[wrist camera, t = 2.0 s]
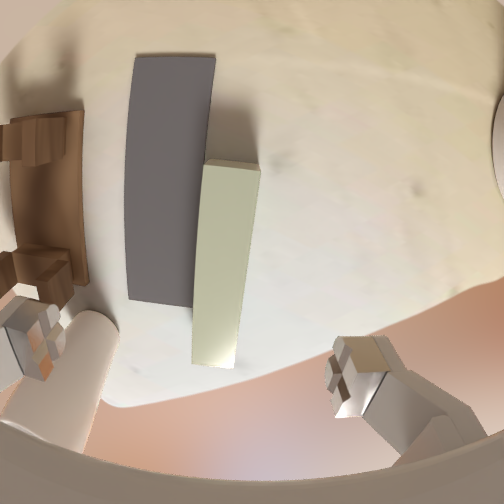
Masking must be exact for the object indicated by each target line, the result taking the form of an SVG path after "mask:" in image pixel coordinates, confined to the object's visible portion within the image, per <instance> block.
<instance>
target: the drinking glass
mask: <svg viewBox="0 0 504 504" xmlns="http://www.w3.org/2000/svg"><path fill="white" fill-rule="evenodd" d="M64 332H65V340H66V343H65V347H64V352H63V353H62V355H61V357H60V358H58V359H56V360H55V361H53V365H54V368H53V370H52V371H51V373H50V375H49V376H48V378H47V380H46V381H45V382H44V381H40V380H37V379H34V378H31V377H28V376H24V377H23V379H22V380H21V381H20V383H19V384H18V385H17V387H16V388H15V390H14V391H13V393H12V394H11V396H10V398H9V399H8V401H7V403H6V405H5V407H4V408H3V411H2V413H1V415H0V421H2V422H4V423H6V424H8V425H10V426H12V427H14V428H16V429H18V430H21V431H23V432H25V433H27V434H30V435H32V436H34V437H37V438H39V439H42V440H44V441H47V442H49V443H52V444H55V445H57V446H60V447H63V448H66V449H69V450H72V451H75V452H78V453H81V454H83V451H84V449H85V446H86V443H87V440H88V438H89V435H90V432H91V429H92V425H93V422H94V418H95V415H96V411H97V408H98V405H99V401H100V398H101V394H102V391H103V388H104V385H105V382H106V378H107V375H108V372H109V369H110V366H111V364H112V361H113V358H114V355H115V353H116V351H117V349H118V347H119V343H120V336H119V332H118V330H117V328H116V326H115V325H114V324H113V322H112V321H111V320H110V319H109V318H107V317H106V316H105V315H103V314H101V313H99V312H96V311H91V310H87V311H82V312H80V313H78V314H77V315H76V316H75V317H74V318H73V320H72V321H71V322H70V324H69V325H68V326H67V328H66V329H65V330H64Z"/></svg>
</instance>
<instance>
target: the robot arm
mask: <svg viewBox="0 0 504 504" xmlns="http://www.w3.org/2000/svg"><path fill="white" fill-rule="evenodd" d="M493 162H494V169H495V175H496V179H497V183H498V186H499V189H500V192H501V194H502V196H503V199H504V95H503V97H502V99H501V101H500V103H499V106H498V109H497V112H496V116H495V121H494V128H493ZM60 317H61V316H60V312H59V308H58V307H57V306H56V305H55V304H52V303H48V302H44V301H40V300H36V299H32V298H27V297H23V296H15V297H14V298H13V299H12V300H11V301H10V302H9V303H8V304H7V305H6V306H5V307H4V308H3V309H2V310H1V311H0V393H1V392H2V391H3V390H5V389H6V388H8V387H9V386H11V385H12V384H13V383H15V382H17V381H18V380H19V379H21V378H22V377H24V376H23V375H25V376H28V377H31V378H34V379H37V380H40V381H44V382H45V381H46V380H47V378H48V376H49V375H50V373H51V371H52V370H53V368H54V365H53V361H55V360H56V359H58V358H60V357H61V355H62V353H63V352H64V347H65V343H66V340H65V332H64V328H63V327H62V326H61V325H60V323H59V322H58V321H59V319H60ZM333 350H334V353H335V354H334V355H332V356H331V357H330V358H329V359H328V361H327V364H326V369H325V383H326V387H327V389H328V390H329V391H330V392H331V393H332V394H333V396H332V398H331V404H332V408H333V411H334V414H335V418H341V417H358V416H363V417H362V418H363V419H364V420H365V421H366V422H367V423H368V424H369V425H371V427H372V428H373V429H374V430H375V431H377V432H378V433H379V434H380V435H381V436H382V437H383V438H384V439H385V440H386V441H387V442H388V443H389V444H390V445H391V446H392V447H393V448H394V449H395V450H396V451H397V452H398V453H399V454H401V455H402V456H401V457H400V458H399V459H398V460H397V461H396V462H395V463H394V464H393V466H392V467H389V468H385V469H380V470H375V471H369V472H364V473H358V474H351V475H344V476H336V477H327V478H317V479H304V480H287V481H239V480H220V479H208V478H197V477H188V476H181V475H173V474H167V473H160V472H155V471H149V470H144V469H139V468H134V467H130V466H125V465H120V464H117V463H113V462H109V461H105V460H101V459H98V458H94V457H90V456H87V455H84V454H81V453H78V452H75V451H72V450H69V449H66V448H63V447H60V446H57V445H55V444H52V443H49V442H47V441H44V440H42V439H39V438H37V437H34V436H32V435H30V434H27V433H25V432H23V431H21V430H18V429H16V428H14V427H12V426H10V425H8V424H6V423H4V422H2V421H0V504H504V430H502V431H499V432H497V433H495V434H493V435H490V436H487V434H486V432H485V431H484V429H483V427H482V425H481V424H480V422H479V420H478V419H477V417H476V415H475V414H474V412H473V410H472V409H471V407H470V406H468V405H466V404H465V403H463V402H461V401H460V400H458V399H457V398H455V397H453V396H452V395H450V394H449V393H447V392H445V391H444V390H442V389H441V388H439V387H437V386H436V385H434V384H433V383H431V382H430V381H428V380H426V379H425V378H423V377H422V376H420V375H419V374H417V373H415V372H413V371H412V370H407V369H406V368H405V365H404V364H403V362H402V361H401V359H400V357H399V356H398V354H397V352H396V350H395V349H394V347H393V345H392V344H391V342H390V340H389V339H388V337H386V336H384V335H380V336H338V337H337V338H336V339H335V341H334V344H333Z"/></svg>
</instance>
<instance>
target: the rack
mask: <svg viewBox="0 0 504 504" xmlns="http://www.w3.org/2000/svg"><path fill="white" fill-rule="evenodd" d="M83 125H84V111H82V110H79V111H67V112H57V113H48V114H40V115H32V116H25V117H19V118H13V119H10V124H6V125H0V162H2V161H9V162H10V186H11V200H12V211H13V220H14V228H15V235H16V242H17V249H16V250H14V251H13V252H6V251H3V252H1V253H0V299H1V298H2V297H3V296H4V295H5V294H6V293H7V292H8V291H9V290H10V289H11V288H12V287H14V286H15V285H16V284H17V283H22V284H27V285H32V286H36V287H37V291H38V295H39V300H40V301H44V302H48V303H52V304H55V305H56V306H57V307H58V308H59V312H60V311H61V309H62V308H63V307H64V306H65V305H66V303H67V302H68V301H69V300H70V299H71V297H72V296H73V295H74V289H73V284H75V285H81V286H87V284H88V283H89V275H88V267H87V258H86V248H85V237H84V223H83V202H82V144H83Z"/></svg>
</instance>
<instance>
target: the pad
mask: <svg viewBox="0 0 504 504" xmlns="http://www.w3.org/2000/svg"><path fill="white" fill-rule="evenodd" d="M215 63H216V58H206V57H142V58H135V62H134V69H133V76H132V84H131V93H130V102H129V112H128V123H127V137H126V155H125V185H124V221H125V252H126V270H127V284H128V296H129V300H136V301H143V302H151V303H158V304H166V305H174V306H182V307H190V308H193V299H194V279H195V262H196V247H197V233H198V220H199V207H200V196H201V185H202V175H203V165H204V156H205V146H206V136H207V127H208V118H209V109H210V101H211V93H212V85H213V77H214V70H215Z"/></svg>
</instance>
